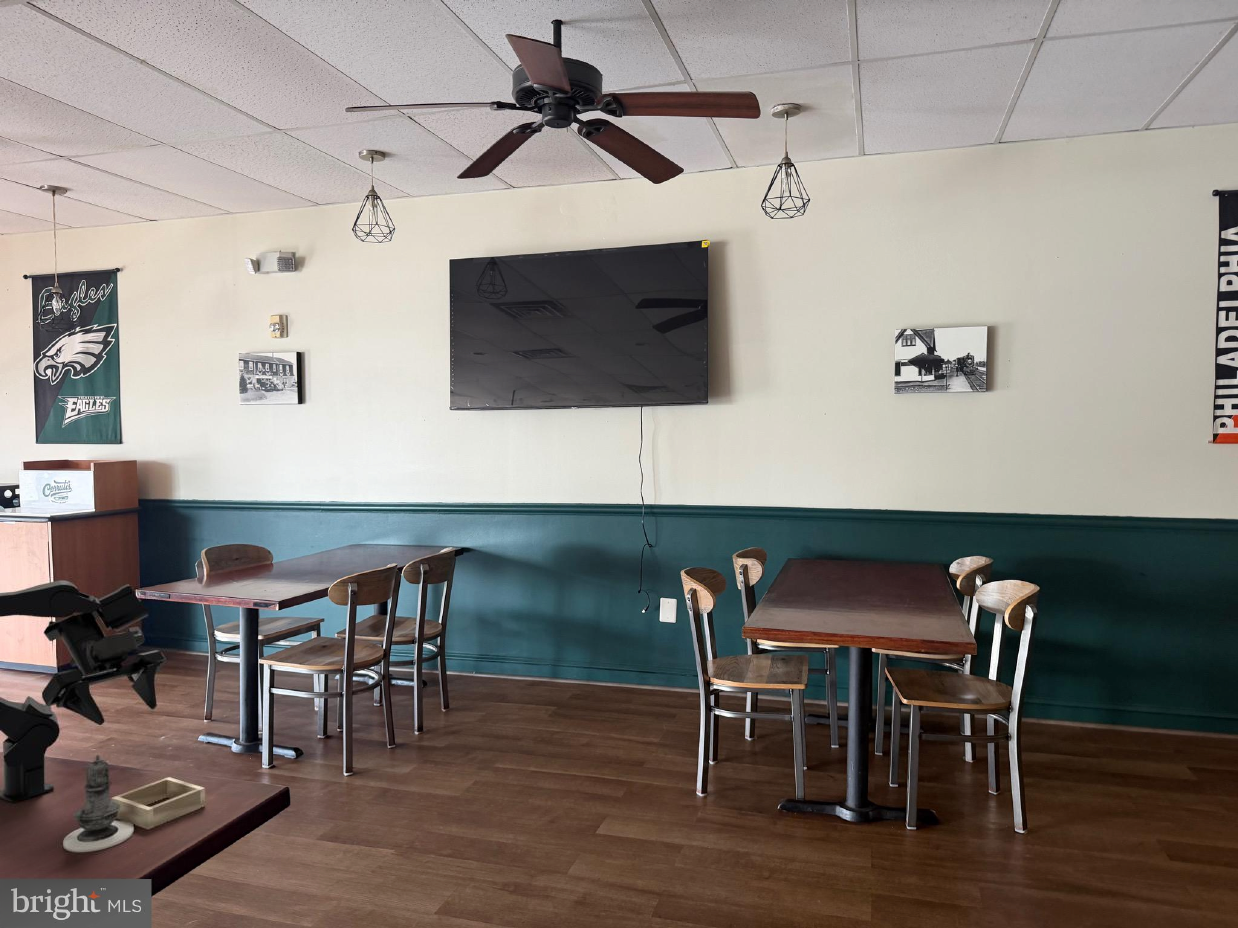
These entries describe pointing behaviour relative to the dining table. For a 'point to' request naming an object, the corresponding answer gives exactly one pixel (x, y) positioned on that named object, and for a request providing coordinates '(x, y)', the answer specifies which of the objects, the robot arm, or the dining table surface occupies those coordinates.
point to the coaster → (77, 846)
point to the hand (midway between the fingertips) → (129, 715)
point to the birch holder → (148, 817)
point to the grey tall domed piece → (97, 805)
